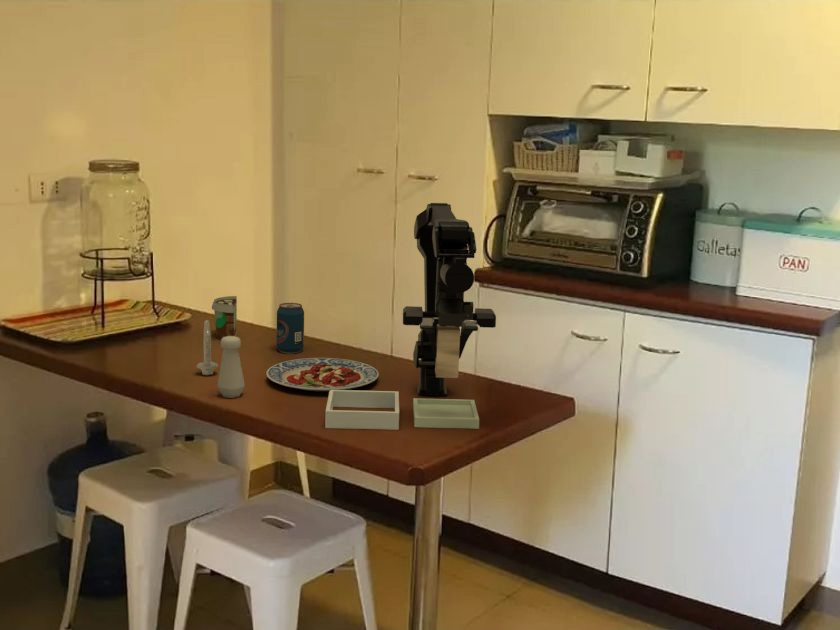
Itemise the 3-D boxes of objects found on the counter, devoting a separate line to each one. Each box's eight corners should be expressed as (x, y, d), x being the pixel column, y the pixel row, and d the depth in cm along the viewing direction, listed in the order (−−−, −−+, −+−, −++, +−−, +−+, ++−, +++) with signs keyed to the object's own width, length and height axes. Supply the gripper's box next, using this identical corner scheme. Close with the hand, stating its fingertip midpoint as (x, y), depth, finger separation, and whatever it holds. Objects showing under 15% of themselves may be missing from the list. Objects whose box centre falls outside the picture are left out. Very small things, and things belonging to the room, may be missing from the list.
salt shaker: (246, 391, 222) (246, 334, 219) (243, 399, 216) (242, 340, 213) (219, 390, 222) (219, 333, 219) (215, 398, 216) (215, 340, 213)
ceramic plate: (310, 360, 249) (310, 349, 249) (399, 378, 237) (399, 366, 236) (242, 384, 228) (242, 372, 227) (336, 405, 215) (337, 392, 215)
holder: (329, 405, 214) (329, 389, 213) (398, 407, 215) (398, 391, 214) (325, 428, 200) (325, 411, 199) (398, 429, 200) (399, 413, 200)
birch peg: (435, 371, 209) (436, 324, 207) (456, 371, 209) (458, 325, 207) (436, 377, 205) (437, 329, 202) (458, 377, 205) (460, 330, 202)
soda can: (271, 349, 257) (271, 304, 255) (293, 346, 262) (293, 301, 259) (286, 355, 253) (287, 309, 250) (309, 351, 257) (309, 305, 254)
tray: (413, 407, 215) (413, 398, 215) (473, 408, 215) (474, 399, 215) (414, 427, 202) (414, 417, 202) (478, 428, 203) (479, 419, 202)
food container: (214, 331, 275) (213, 295, 273) (236, 331, 276) (236, 295, 273) (209, 342, 263) (209, 304, 261) (233, 342, 264) (233, 305, 262)
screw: (216, 370, 237) (219, 376, 233) (195, 371, 236) (197, 377, 231) (216, 316, 234) (218, 321, 230) (195, 317, 233) (197, 322, 228)
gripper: (404, 289, 194) (402, 367, 198) (500, 292, 195) (496, 369, 199) (403, 278, 205) (401, 352, 209) (494, 281, 206) (491, 355, 209)
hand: (447, 357), depth 206 cm, fingers closed on birch peg, 4 cm apart
